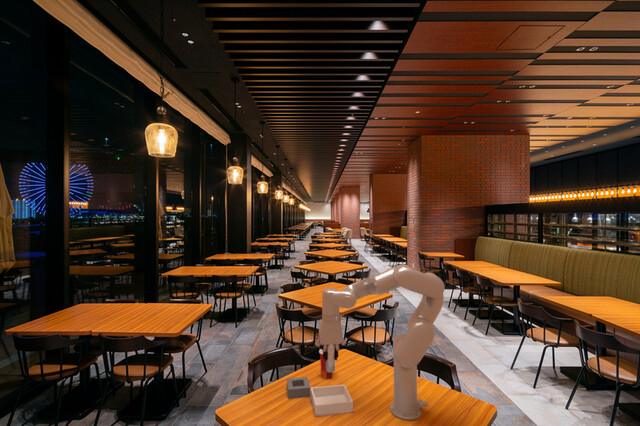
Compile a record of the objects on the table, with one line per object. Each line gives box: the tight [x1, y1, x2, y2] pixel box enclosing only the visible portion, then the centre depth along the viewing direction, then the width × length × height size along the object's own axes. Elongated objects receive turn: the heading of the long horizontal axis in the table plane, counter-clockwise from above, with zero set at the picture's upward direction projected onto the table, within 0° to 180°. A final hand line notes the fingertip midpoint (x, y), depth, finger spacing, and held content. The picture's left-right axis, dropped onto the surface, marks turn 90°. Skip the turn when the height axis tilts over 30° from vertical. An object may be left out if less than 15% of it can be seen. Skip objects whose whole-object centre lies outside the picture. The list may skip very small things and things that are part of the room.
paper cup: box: [318, 348, 333, 380], centre depth 162 cm, size 8×8×14 cm
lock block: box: [286, 376, 311, 400], centre depth 147 cm, size 10×10×4 cm
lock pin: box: [326, 344, 336, 373], centre depth 137 cm, size 4×4×12 cm
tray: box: [310, 384, 354, 417], centre depth 137 cm, size 16×14×4 cm
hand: (330, 359), depth 137 cm, fingers closed on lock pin, 4 cm apart
